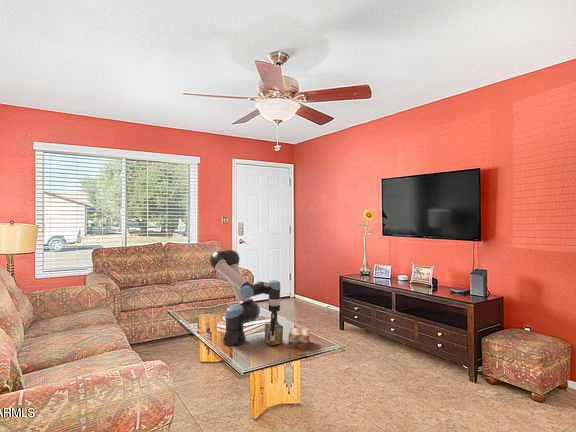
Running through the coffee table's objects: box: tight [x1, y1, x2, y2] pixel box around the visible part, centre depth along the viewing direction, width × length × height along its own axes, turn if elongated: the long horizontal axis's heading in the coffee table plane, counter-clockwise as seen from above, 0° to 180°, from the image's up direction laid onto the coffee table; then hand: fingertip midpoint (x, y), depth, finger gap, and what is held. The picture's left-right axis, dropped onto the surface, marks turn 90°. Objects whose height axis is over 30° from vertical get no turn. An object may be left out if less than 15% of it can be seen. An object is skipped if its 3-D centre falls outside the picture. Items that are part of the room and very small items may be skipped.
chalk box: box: [264, 319, 284, 346], centre depth 233 cm, size 9×9×15 cm
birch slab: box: [288, 327, 311, 344], centre depth 232 cm, size 13×13×4 cm
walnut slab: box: [287, 340, 310, 350], centre depth 232 cm, size 13×13×4 cm
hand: (273, 337), depth 233 cm, fingers closed on chalk box, 12 cm apart
